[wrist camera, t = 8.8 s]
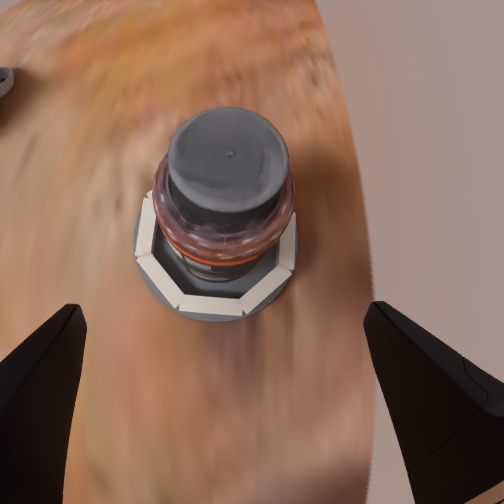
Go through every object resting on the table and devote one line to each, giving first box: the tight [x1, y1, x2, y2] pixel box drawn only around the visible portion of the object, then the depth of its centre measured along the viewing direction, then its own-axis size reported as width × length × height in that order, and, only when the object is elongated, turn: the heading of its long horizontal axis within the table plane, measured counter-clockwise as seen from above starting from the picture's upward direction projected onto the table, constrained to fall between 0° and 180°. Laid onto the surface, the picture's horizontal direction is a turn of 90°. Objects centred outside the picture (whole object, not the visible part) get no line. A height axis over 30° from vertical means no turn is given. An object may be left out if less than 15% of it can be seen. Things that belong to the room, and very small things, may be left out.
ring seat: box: [134, 190, 298, 322], centre depth 20 cm, size 11×11×2 cm
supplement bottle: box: [152, 107, 296, 283], centre depth 15 cm, size 6×6×11 cm
